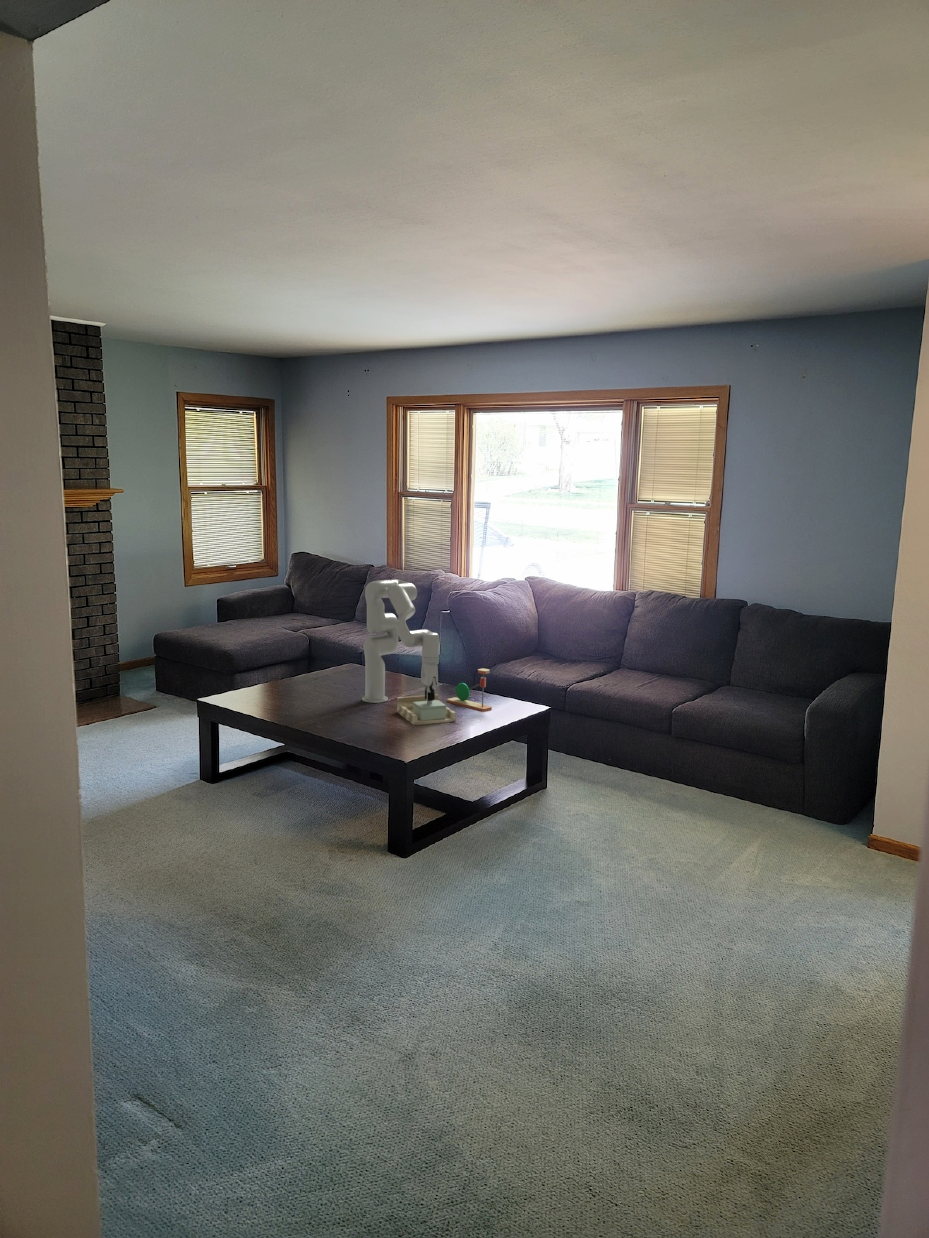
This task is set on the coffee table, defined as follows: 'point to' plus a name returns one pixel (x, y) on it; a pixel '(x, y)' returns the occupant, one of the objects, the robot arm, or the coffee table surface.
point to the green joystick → (429, 709)
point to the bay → (407, 712)
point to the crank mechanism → (464, 693)
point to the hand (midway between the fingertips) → (429, 699)
